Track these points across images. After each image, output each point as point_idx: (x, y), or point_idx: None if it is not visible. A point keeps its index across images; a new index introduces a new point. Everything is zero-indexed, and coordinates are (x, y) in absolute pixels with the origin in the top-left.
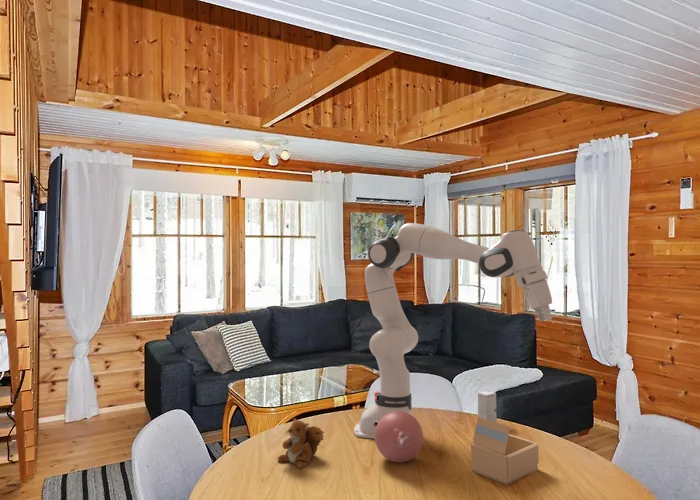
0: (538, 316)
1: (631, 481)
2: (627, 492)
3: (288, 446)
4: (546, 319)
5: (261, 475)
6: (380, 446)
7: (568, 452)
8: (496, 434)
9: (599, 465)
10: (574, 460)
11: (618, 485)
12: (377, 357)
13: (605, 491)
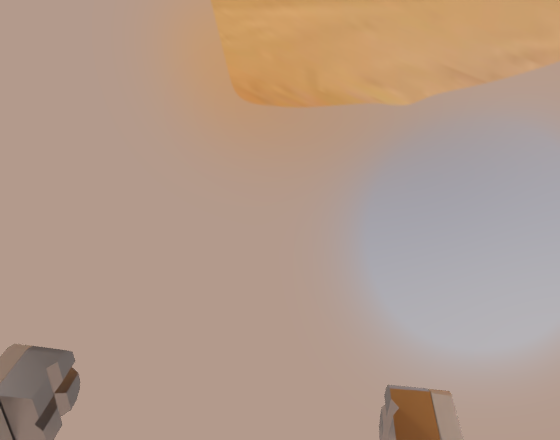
0: (415, 436)
1: (294, 102)
2: (236, 69)
3: None
4: (8, 354)
5: None
6: None
7: (490, 21)
8: None
9: (384, 72)
10: (422, 16)
11: (268, 66)
12: None
13: (230, 22)
